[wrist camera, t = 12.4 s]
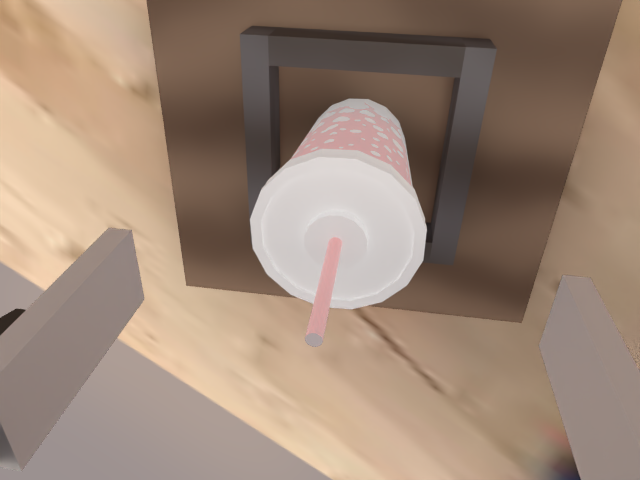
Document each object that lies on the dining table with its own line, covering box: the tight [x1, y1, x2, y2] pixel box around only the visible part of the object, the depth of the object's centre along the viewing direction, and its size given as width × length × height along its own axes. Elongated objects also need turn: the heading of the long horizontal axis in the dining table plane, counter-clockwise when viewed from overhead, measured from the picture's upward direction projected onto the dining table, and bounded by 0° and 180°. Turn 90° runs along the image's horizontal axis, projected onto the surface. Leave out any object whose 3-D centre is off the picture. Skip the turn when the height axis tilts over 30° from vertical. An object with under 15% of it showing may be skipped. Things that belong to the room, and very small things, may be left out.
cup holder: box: [147, 0, 622, 323], centre depth 25 cm, size 20×20×3 cm
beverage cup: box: [250, 99, 427, 347], centre depth 19 cm, size 6×6×14 cm
